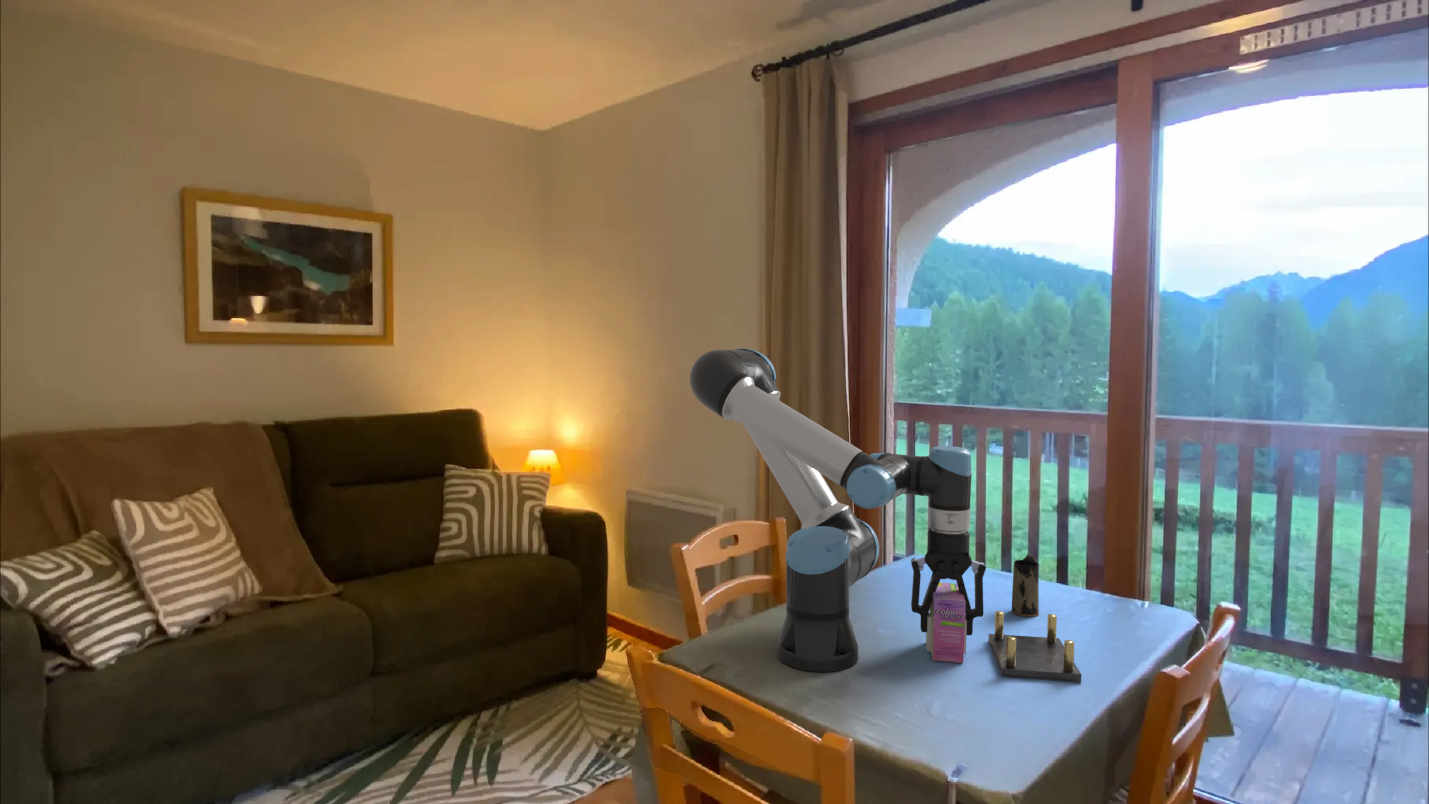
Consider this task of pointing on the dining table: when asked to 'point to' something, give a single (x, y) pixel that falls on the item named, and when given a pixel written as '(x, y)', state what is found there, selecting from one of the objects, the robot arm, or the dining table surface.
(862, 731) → the dining table surface
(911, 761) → the dining table surface
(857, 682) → the dining table surface
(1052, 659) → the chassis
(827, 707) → the dining table surface
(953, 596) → the box
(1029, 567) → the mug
